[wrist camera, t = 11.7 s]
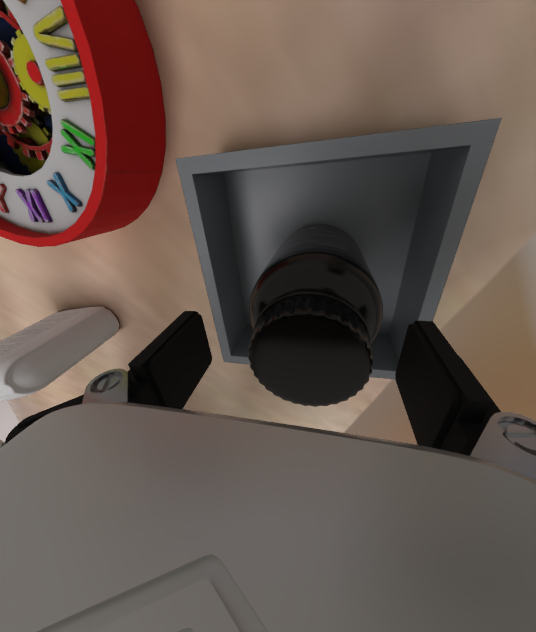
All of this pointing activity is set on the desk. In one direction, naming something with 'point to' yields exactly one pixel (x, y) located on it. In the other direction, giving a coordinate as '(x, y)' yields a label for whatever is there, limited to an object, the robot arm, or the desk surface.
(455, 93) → the desk surface
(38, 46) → the toy clock
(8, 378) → the photo printer
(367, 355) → the supplement bottle
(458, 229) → the box
